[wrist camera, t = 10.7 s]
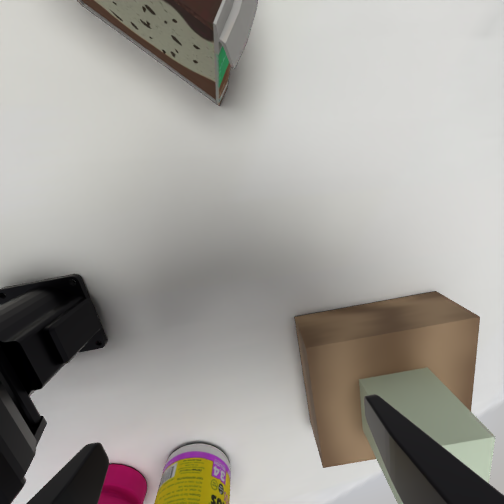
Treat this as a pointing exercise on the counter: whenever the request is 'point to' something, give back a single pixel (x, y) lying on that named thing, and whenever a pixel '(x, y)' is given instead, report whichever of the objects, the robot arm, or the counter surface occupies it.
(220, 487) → the supplement bottle
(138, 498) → the pepper mill
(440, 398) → the sage cube
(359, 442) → the walnut block
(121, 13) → the food container
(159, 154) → the counter surface
